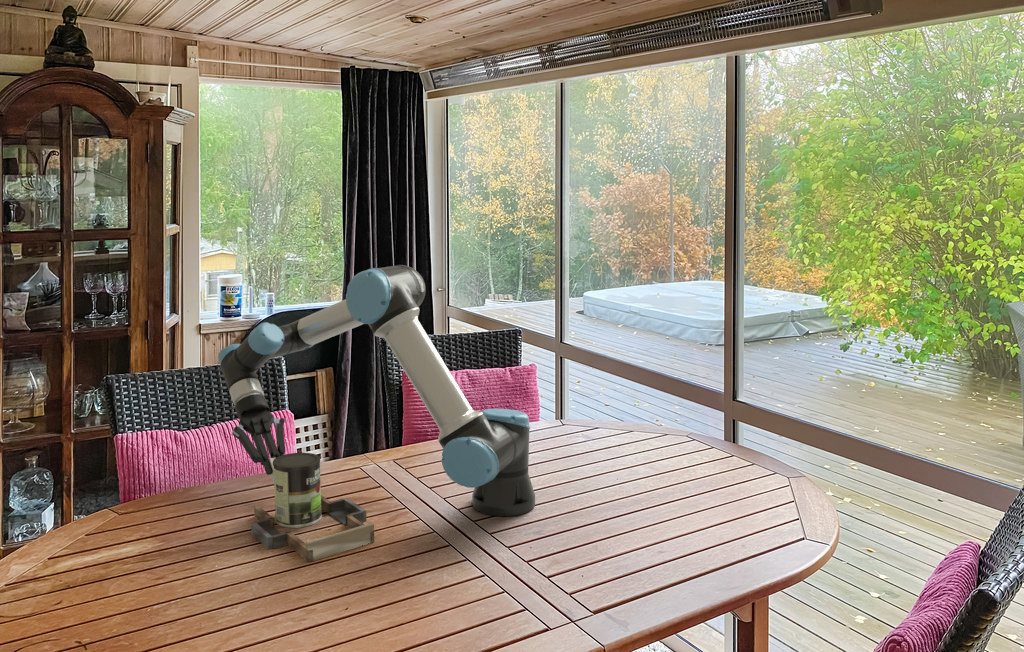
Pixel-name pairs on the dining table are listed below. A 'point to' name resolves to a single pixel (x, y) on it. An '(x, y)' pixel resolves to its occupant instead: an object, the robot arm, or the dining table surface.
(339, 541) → the box
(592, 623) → the dining table surface
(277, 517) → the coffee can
